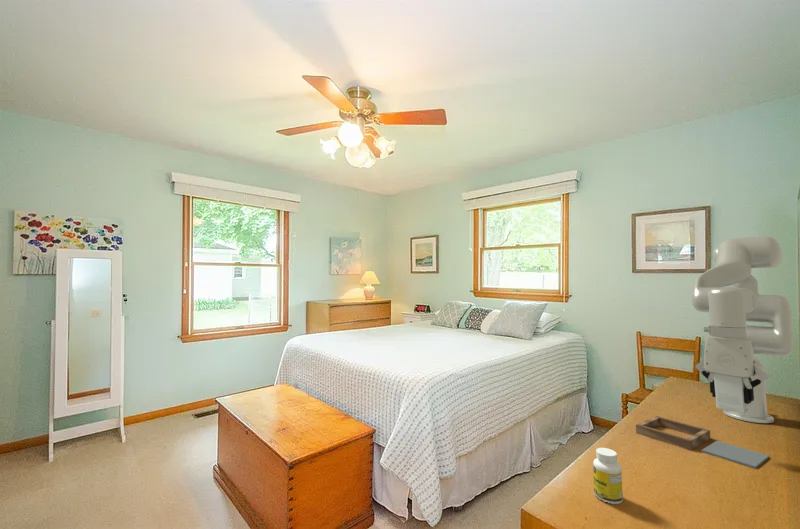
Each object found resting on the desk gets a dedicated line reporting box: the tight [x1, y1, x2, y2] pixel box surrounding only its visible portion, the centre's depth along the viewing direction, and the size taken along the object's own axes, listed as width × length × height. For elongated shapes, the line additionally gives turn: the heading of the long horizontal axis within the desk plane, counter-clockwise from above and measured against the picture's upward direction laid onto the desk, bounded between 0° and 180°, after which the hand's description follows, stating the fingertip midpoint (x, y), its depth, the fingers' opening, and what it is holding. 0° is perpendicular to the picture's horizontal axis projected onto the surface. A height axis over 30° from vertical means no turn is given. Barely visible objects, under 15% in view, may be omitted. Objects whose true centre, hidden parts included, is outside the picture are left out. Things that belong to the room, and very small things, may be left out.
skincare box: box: [714, 373, 749, 414], centre depth 99 cm, size 6×4×12 cm
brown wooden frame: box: [635, 415, 711, 451], centre depth 111 cm, size 14×14×2 cm
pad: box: [701, 440, 770, 470], centre depth 98 cm, size 11×11×1 cm
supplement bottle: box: [592, 447, 624, 505], centre depth 79 cm, size 5×5×10 cm
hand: (731, 398), depth 99 cm, fingers closed on skincare box, 6 cm apart
